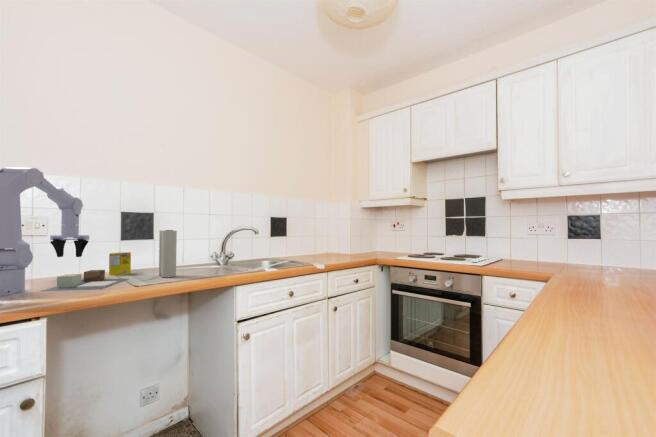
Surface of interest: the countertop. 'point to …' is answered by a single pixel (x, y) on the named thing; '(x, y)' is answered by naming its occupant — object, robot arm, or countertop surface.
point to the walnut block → (94, 275)
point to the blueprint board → (89, 285)
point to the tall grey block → (167, 253)
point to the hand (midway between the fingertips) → (69, 256)
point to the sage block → (68, 280)
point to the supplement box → (120, 263)
